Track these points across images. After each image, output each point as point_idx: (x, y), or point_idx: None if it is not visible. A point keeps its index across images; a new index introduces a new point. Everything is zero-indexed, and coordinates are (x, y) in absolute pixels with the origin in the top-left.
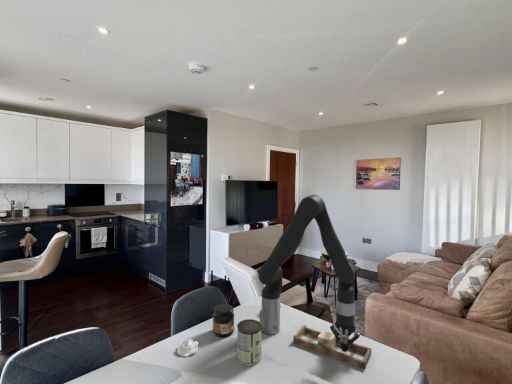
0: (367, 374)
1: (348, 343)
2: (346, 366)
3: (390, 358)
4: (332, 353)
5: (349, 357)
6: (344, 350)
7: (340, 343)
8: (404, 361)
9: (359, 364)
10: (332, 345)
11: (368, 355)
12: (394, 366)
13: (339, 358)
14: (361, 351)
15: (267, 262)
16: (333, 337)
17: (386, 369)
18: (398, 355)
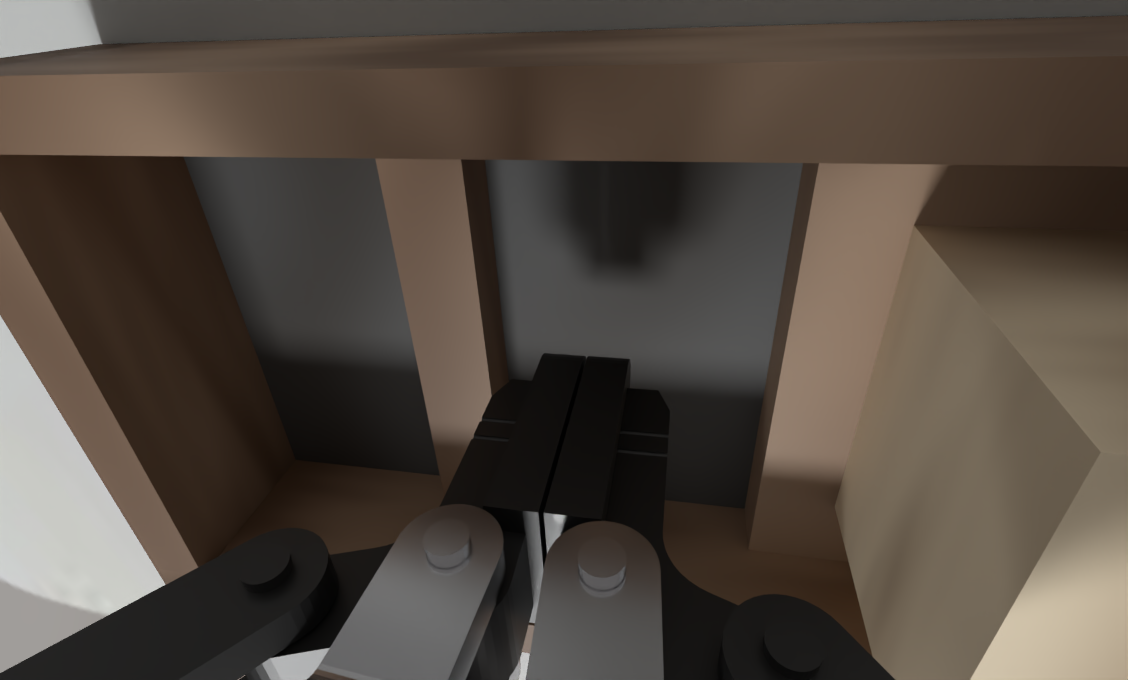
0: (49, 24)
1: (387, 550)
2: (450, 11)
3: (133, 543)
4: (869, 45)
5: (261, 70)
6: (559, 371)
7: (739, 579)
8: (28, 547)
9: (85, 62)
10: (925, 411)
11: (61, 407)
12: (12, 434)
13: (614, 42)
14: (353, 515)
15: None
16: (981, 677)
17: (10, 335)
18: (122, 607)
